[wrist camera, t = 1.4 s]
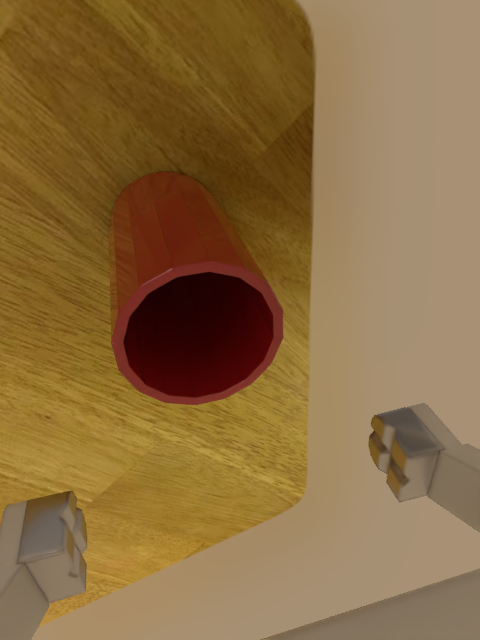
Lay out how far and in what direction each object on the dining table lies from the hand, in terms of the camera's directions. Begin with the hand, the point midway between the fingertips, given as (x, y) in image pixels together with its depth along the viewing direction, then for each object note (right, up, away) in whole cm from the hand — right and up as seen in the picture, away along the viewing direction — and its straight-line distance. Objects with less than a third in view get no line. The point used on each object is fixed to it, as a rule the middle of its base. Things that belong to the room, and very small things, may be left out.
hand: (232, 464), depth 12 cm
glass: (-4, +9, +13) cm, 16 cm away
